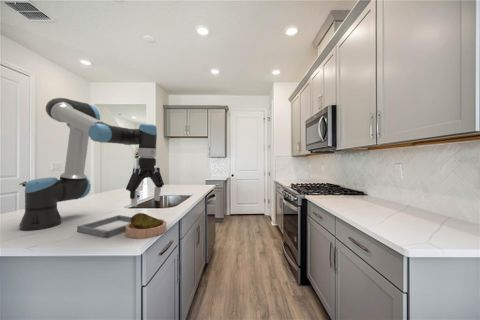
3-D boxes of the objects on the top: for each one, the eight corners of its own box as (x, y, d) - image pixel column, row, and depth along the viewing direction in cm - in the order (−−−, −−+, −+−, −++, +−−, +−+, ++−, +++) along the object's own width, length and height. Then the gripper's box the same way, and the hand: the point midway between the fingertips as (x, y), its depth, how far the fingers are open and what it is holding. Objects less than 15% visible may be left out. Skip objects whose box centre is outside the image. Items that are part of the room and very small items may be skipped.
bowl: (116, 235, 93) (116, 226, 93) (146, 224, 109) (146, 217, 109) (146, 240, 87) (146, 232, 87) (173, 228, 103) (173, 221, 103)
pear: (154, 234, 93) (154, 216, 93) (127, 232, 94) (127, 215, 94) (163, 228, 101) (163, 211, 101) (138, 227, 103) (138, 210, 103)
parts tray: (77, 231, 97) (77, 226, 97) (119, 219, 117) (119, 215, 117) (106, 238, 90) (106, 232, 90) (145, 223, 110) (145, 219, 110)
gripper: (130, 157, 85) (129, 209, 85) (171, 158, 108) (170, 199, 108) (117, 156, 88) (115, 207, 88) (160, 157, 111) (159, 197, 111)
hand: (146, 203), depth 98 cm, fingers open, 13 cm apart
